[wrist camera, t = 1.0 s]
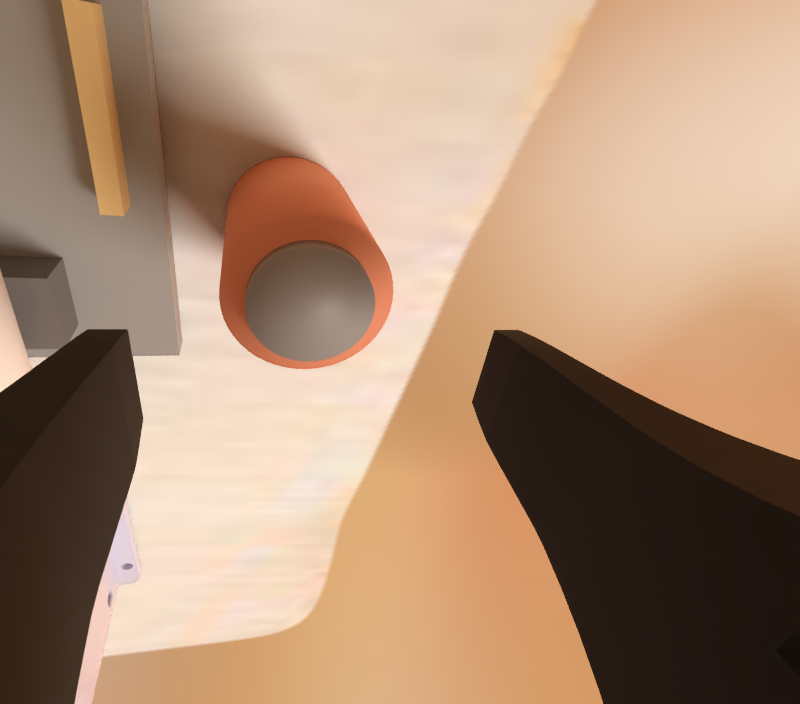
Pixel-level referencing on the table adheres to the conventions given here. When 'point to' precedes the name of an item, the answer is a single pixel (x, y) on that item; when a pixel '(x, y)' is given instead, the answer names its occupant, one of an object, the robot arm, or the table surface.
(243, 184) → the cylinder
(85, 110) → the bench
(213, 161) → the table surface
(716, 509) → the robot arm
